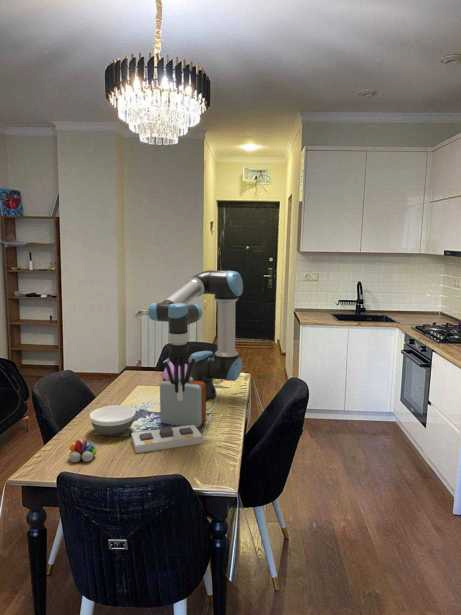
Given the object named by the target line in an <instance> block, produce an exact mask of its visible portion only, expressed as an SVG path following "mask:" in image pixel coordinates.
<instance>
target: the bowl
mask: <svg viewBox="0 0 461 615" xmlns="http://www.w3.org/2000/svg"><path fill="white" fill-rule="evenodd" d="M136 413H137V411H136V410H135V409H134V408H133V407H131V406H128V405H119V404H117V405H115V404H113V405H106V406H102V407H99V408H96V409H94V410H92V411H91V412H90V413H89V419H90V421H91V426H92V427H93V428H94V430H95V431H97V432H98V433H100V434H102V435H104V436H107V435H109V436H108V437H115V436H114V435H116V436H119V434H120V435H121V434H123V433H124V432H126V431H127V430H129V429H130V428H131V426H132V425H133V423H134V421H135V415H136Z"/></svg>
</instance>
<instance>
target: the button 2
mask: <svg viewBox="0 0 461 615" xmlns="http://www.w3.org/2000/svg"><path fill="white" fill-rule="evenodd" d="M180 433H181V435H187V434H193V431H192V429H191V428H190V427H189V428H181V429H180Z"/></svg>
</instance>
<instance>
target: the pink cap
mask: <svg viewBox="0 0 461 615" xmlns="http://www.w3.org/2000/svg"><path fill="white" fill-rule="evenodd" d="M169 366H170V369H171V373H172V377H173V378H174V365H173V364H172V363H171V361H170V364H169ZM187 366H188V363H186V364H185V376H186V371H187ZM178 376H180V366H179V369H178ZM162 378H163V379H165V380H164V381H166V380H167V379H169V377H168V373H167V370H166V367H165V368H164V370H163V376H162Z"/></svg>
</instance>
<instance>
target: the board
mask: <svg viewBox="0 0 461 615" xmlns="http://www.w3.org/2000/svg"><path fill="white" fill-rule="evenodd" d="M189 427H190V428H191V429H192V431H193V434H187V435H181V433H180V429H181V428H189ZM171 428H172V430H173V437H166V438H161V436H160V428H159V429H154V430H146V431H138V432H131V443H132V445H133V448H134V451H135V454H139V453H147V452H152V451H160V450H166V449H173V448H180V447H187V446H193V445H200V444H203V435H202V434H201V432H200V431H199V429H198V428H196V427H195V425H189V426H174V427H171ZM144 433H151V434H152V436H153V439H151V440H144V441H141V440H140V434H144Z"/></svg>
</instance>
